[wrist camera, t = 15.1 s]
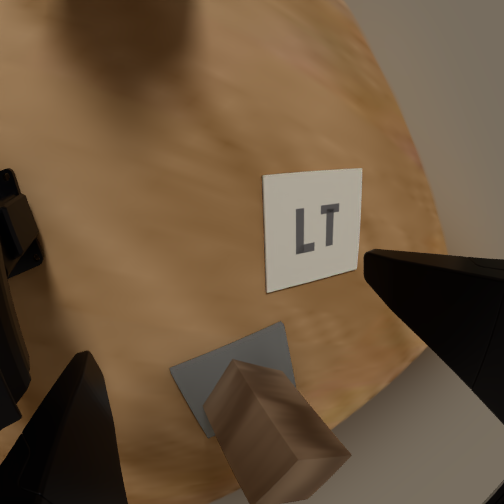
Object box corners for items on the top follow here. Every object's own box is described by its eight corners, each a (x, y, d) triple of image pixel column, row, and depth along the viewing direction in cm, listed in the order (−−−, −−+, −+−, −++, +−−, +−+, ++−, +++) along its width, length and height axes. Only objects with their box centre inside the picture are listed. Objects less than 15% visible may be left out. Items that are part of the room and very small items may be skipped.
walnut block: (202, 406, 26) (251, 507, 17) (232, 358, 26) (298, 459, 16) (252, 413, 29) (307, 499, 19) (282, 370, 28) (351, 454, 19)
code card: (265, 291, 25) (267, 292, 25) (261, 175, 22) (263, 175, 22) (355, 268, 29) (356, 269, 28) (360, 168, 25) (362, 168, 25)
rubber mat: (206, 434, 28) (208, 438, 28) (169, 368, 24) (170, 372, 24) (295, 393, 31) (297, 397, 31) (280, 321, 27) (284, 324, 27)
